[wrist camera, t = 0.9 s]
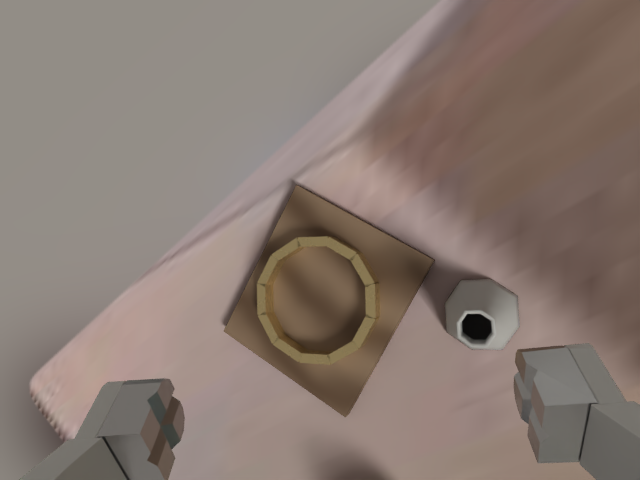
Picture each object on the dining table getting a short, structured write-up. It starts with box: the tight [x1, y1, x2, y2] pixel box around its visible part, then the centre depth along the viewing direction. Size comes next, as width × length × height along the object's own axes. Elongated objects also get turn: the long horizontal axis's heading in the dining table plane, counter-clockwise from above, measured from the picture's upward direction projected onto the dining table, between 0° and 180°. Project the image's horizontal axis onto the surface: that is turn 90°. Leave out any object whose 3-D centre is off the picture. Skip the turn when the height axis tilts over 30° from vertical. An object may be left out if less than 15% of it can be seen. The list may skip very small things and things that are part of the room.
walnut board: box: [224, 185, 435, 417], centre depth 54 cm, size 19×17×1 cm
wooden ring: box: [257, 236, 380, 365], centre depth 53 cm, size 13×13×2 cm
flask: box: [445, 279, 520, 350], centre depth 44 cm, size 7×7×10 cm
